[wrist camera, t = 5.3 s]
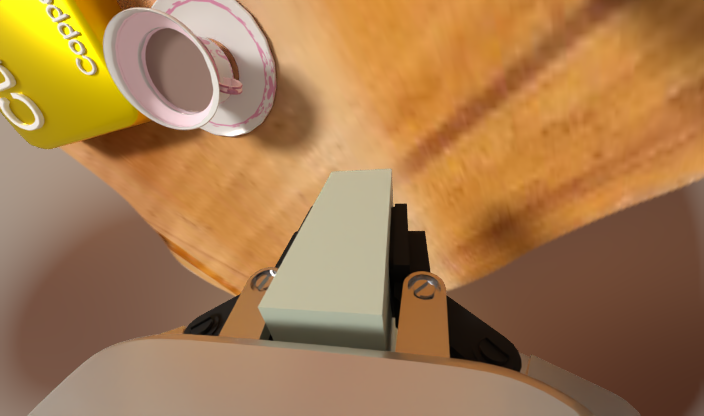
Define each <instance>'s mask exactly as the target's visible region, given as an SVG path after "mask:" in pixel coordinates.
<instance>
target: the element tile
mask: <svg viewBox="0 0 704 416" xmlns="http://www.w3.org/2000/svg"><path fill="white" fill-rule="evenodd" d="M121 11H122V10H121V8H120V7H119V5H118V3H117V1H116V0H0V112H1V113H2V115H3V116H4V117H5V118H6V119H7V120H8V122H9V123H10V124H11V125H12V126H13V127H14V128H15V130H16V131H17V132H18V133H19V134H20V135H21V136H22V137H23V138H24V139H25V140H26V141H27V142H28V143H29V144H31V145H33V146H36V147H38V148H43V149H53V148H57V147H60V146H64V145H68V144H72V143H76V142H79V141H83V140H87V139H90V138H94V137H97V136H101V135H104V134H108V133H111V132H115V131H119V130H122V129H126V128H129V127H133V126H136V125H140V124H143V123H147V122H150V121H153V120H151V119H149V118H148V117H147V116H145V115H144V114H142V113H141V112H140V111H138V110H137V109H136V108H135V107H134V106H133V105H132V104H131V103H130V102H129V101H128V100H127V99H126V98H125V97H124V95H123V94H122V93H121V92H120V90H119V89H118V87H117V86H116V84H115V83H114V81H113V79H112V77H111V75H110V73H109V71H108V68H107V65H106V62H105V58H104V52H103V38H104V33H105V30H106V27H107V25H108V24H109V22H110V21H111V20H112V18H113V17H114V16H115V15H117V14H118V13H120V12H121Z"/></svg>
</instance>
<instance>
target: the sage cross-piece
mask: <svg viewBox="0 0 704 416" xmlns="http://www.w3.org/2000/svg"><path fill="white" fill-rule="evenodd" d="M391 207H393V188H392V169H375V170H355V171H336V172H331V174H330V176H329V177H328V179H327V181H326V183H325V185H324V187H323V188H322V190H321V192H320V194H319V196H318V198H317V199H316V201H315V203H314V205H313V207H312V209H311V210H310V212H309V214H308V216H307V218H306V220H305V221H304V223H303V225H302V227H301V229H300V231H299V232H298V234H297V236H296V238H295V240H294V242H293V243H292V245H291V247H290V249H289V251H288V253H287V254H286V256H285V258H284V260H283V262H282V264H281V265H280V267H279V269H278V271H277V273H276V275H275V276H274V278H273V280H272V282H271V284H270V286H269V287H268V289H267V291H266V293H265V295H264V296H263V298H262V300H261V302H260V304H259V306H258V309H259V311H260V313H261V315H262V317H263V319H264V321H265V323H266V325H267V327H268V329H269V331H270V333H271V336H272V338H273V340H274V341H281V342H293V343H304V344H315V345H326V346H337V347H348V348H358V349H369V350H379V351H390V352H395V350H396V341H397V333H398V329H397V328H396V326H395V318H392V312H391V296H390V281H389V244H390V224H391Z"/></svg>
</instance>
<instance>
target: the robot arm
mask: <svg viewBox="0 0 704 416" xmlns="http://www.w3.org/2000/svg"><path fill="white" fill-rule="evenodd" d="M312 207H313V206H312ZM312 207H311V208H310V210H311V209H312ZM310 210H309V212H310ZM309 212H308V214H309ZM308 214H307V216H308ZM307 216H306V217H305V219H304V221H305V220H306V218H307ZM304 221H303V223H304ZM303 223H302V225H303ZM302 225H301V226H300V228H299V230H298V231H297V232H295V233H294V234H293V236H292V238H291V240H290V241H289V243H288V245H287V247H286V249H285V250H284V252H283V254H282V256H281V257H280V259H279V261H278V263H277V264H276V266H275V267H268V268H264V269H261V270H259V271H257V272H256V273H254V274H253V275H252V276H251V277H250V278H249V280H248V281H247V283H246V285H245V287H244V289H243V291H242V292H241V294H240V295H238V296H236V297H234V298H232V299H230V300H228V301H227V302H225V303H223V304H221V305H219V306H217V307H215V308H214V309H212V310H210V311H208V312H206V313H204V314H203V315H201V316H199V317H198V318H196V319H195V320H194V321H192V323H190V324H189V325H188V327H187V328H186V327H185V326H182V327H179V328H176V329H173V330H170V331H167V332H164V333H161V334H158V335H150V336H145V337H139V338H135V339H131V340H128V341H125V342H121V343H118V344H115V345H113V346H111V347H108V348H106V349H104V350H102V351H100V352H98V353H97V354H95V355H93V356H92V357H91V358H89V359H88V360H87V361H85V362H84V363H83V364H82V365H81V366H80V367H79V368H77V369H76V370H75V371H74V372H73V373H71V374H70V375H69V376H68V377H67V378H66V379H65V380H64V381H63V382H62V383H61V384H59V385H58V386H57V387H56V388H55V389H54V390H53V391H52V392H51V393H50V394H49V395H48V396H47V397H46V398H45V399H44V400H43V401H42V402H41V403H39V404H38V405H37V406H36V407H35V408H34V409H33V410H32V411H31V412H30V413H29V414H28V415H27V416H640V414H639V413H638V412H637V411H636V410H635V409H634V408H633V407H632V406H631V405H630V404H629V403H627V402H626V401H625V400H623V399H622V398H620V397H619V396H617V395H615V394H614V393H612V392H610V391H608V390H605V389H603V388H601V387H599V386H597V385H595V384H593V383H591V382H589V381H587V380H584V379H582V378H580V377H578V376H576V375H574V374H572V373H570V372H567V371H565V370H563V369H561V368H559V367H557V366H555V365H553V364H550V363H548V362H546V361H544V360H542V359H540V358H538V357H536V356H534V355H531V356H530V357H528V356H526V355H524V354H522V353H519V352H518V350H517V349H516V348H515V346H514V345H513V344H512V343H511V342H510V341H509V340H508V339H507V338H505V337H504V336H503V335H501V334H500V333H498V332H497V331H496V330H494V329H493V328H491V327H490V326H489V325H487V324H486V323H484V322H483V321H482V320H480V319H479V318H477V317H476V316H475V315H473V314H471V312H469V311H468V310H466V309H465V308H463V307H462V306H461V305H459V304H458V303H456V302H455V301H454V300H452V299H451V298H449V297H448V296H447V295H446V287H445V284H444V282H443V281H442V279H441V278H439V277H438V276H437V275H435V274H433V273H430V266H429V258H428V251H427V244H426V236H425V231H408V220H407V204H395V207H391V224H390V244H389V281H390V296H391V312H392V318H395V326H396V328H397V329H398V333H397V341H396V350H395V352H390V351H379V350H369V349H358V348H348V347H337V346H326V345H315V344H304V343H293V342H281V341H274V340H273V338H272V336H271V333H270V331H269V329H268V327H267V325H266V323H265V321H264V319H263V317H262V315H261V313H260V311H259V309H258V306H259V304H260V302H261V300H262V298H263V296H264V295H265V293H266V291H267V289H268V287H269V286H270V284H271V282H272V280H273V278H274V276H275V275H276V273H277V271H278V269H279V267H280V265H281V264H282V262H283V260H284V258H285V256H286V254H287V253H288V251H289V249H290V247H291V245H292V243H293V242H294V240H295V238H296V236H297V234H298V232H299V231H300V229H301V227H302Z"/></svg>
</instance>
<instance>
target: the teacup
mask: <svg viewBox="0 0 704 416" xmlns="http://www.w3.org/2000/svg"><path fill="white" fill-rule="evenodd" d="M207 38H209V39H214V40H216V41H218V42H220V43H221V44H223V45H224V46H225V47H226V48H227V49H228V50H229V51H230V53H231V54H232V56H233V57H234V59H235V61H236V64H237V66H238V72H239V81H238V80H236V79H234V75H233V70H232V67H231V65H230V62H229V60H228V58H227V57H226V55H225V54H224V52H223V51H222V50H221V49H220V48H219V47H218V46H217V45H216V44H215V43H214V42H212V41H211V40H209V39H207ZM103 52H104V58H105V62H106V65H107V68H108V71H109V73H110V75H111V77H112V79H113V81H114V83H115V84H116V86H117V87H118V89H119V90H120V92H121V93H122V94H123V95H124V97H125V98H126V99H127V100H128V101H129V102H130V103H131V104H132V105H133V106H134V107H135V108H136V109H137V110H138V111H140V112H141V113H142V114H144V115H145V116H147V117H148V118H149V119H151V120H153V121H155V122H156V123H158V124H160V125H163V126H165V127H168V128H172V129H176V130H193V129H197V128H200V129H203V130H205V131H207V132H210V133H212V134H214V135H221V136H230V137H234V136H238V135H242V134H246V133H249V132H251V131H252V130H253V129H255V128H256V127H257V126H259V125H260V124H262V123H263V122H264V120H265V118H266V117H267V115H268V113H269V112H270V110H271V109H272V106H273V102H274V97H275V92H276V88H277V85H276V72H275V62H274V59H273V56H272V53H271V50H270V48H269V45H268V42H267V39H266V37H265V35H264V34H263V32H262V31H261V29H260V28H259V26H258V24H257V23H256V21H255V20H254V18H253V17H252V15H251V14H250V13H249V12H248V11H247V10H246V9H245V8H244V7H242V6H241V5H240V4H239V3H238V2H237V1H236V0H157V1H156V2H155V3H154V4H153V6H152V7H151V8H141V7H138V8H130V9H126V10H123V11H121V12H120V13H118V14H117V15H115V16H114V17H113V18H112V20H111V21H110V22H109V24H108V25H107V27H106V30H105V33H104V38H103Z"/></svg>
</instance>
